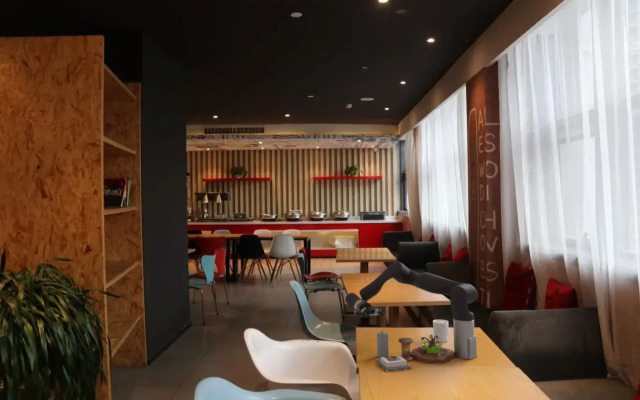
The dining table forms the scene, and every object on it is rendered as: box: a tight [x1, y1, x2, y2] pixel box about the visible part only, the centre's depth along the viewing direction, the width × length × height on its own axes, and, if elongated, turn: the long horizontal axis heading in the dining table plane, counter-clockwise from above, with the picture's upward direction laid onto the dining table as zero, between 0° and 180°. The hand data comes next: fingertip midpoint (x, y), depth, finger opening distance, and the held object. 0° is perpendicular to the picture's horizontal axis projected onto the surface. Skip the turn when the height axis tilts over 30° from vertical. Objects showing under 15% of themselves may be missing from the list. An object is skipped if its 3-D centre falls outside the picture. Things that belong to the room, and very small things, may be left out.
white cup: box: [432, 319, 449, 343], centre depth 248 cm, size 8×8×10 cm
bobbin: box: [390, 337, 414, 362], centre depth 220 cm, size 10×6×9 cm, turn 43°
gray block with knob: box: [376, 329, 389, 359], centre depth 223 cm, size 4×4×13 cm
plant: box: [410, 333, 455, 365], centre depth 222 cm, size 20×20×11 cm
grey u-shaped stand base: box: [375, 355, 412, 372], centre depth 210 cm, size 14×11×3 cm
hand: (373, 315), depth 234 cm, fingers open, 8 cm apart
